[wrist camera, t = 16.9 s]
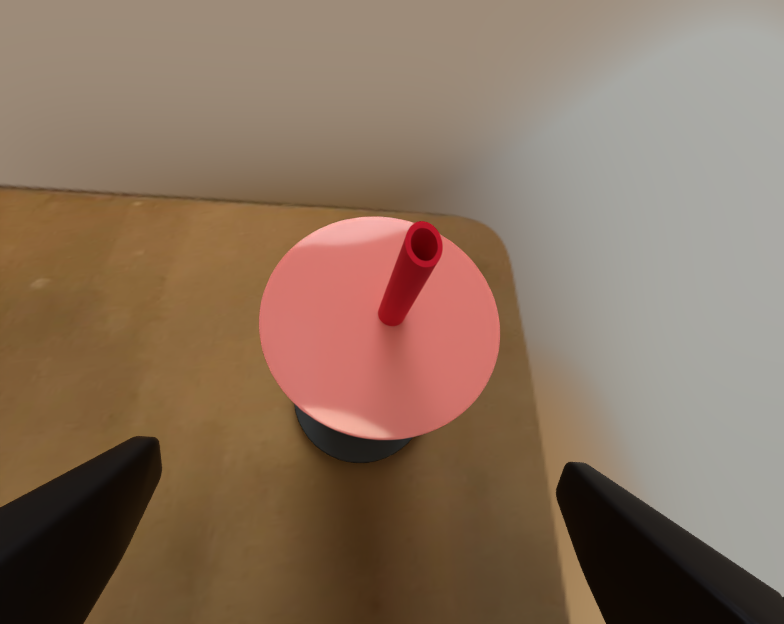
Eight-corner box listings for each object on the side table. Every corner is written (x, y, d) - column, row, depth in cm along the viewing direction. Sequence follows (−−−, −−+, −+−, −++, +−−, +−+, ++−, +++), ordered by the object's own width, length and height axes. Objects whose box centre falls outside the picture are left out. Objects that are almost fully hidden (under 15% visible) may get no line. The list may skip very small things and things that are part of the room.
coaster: (393, 488, 15) (395, 488, 15) (267, 424, 15) (266, 422, 15) (444, 364, 18) (446, 362, 17) (335, 311, 18) (335, 308, 18)
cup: (435, 439, 16) (651, 357, 5) (311, 476, 14) (238, 475, 4) (400, 327, 18) (501, 93, 7) (289, 351, 16) (198, 112, 6)
